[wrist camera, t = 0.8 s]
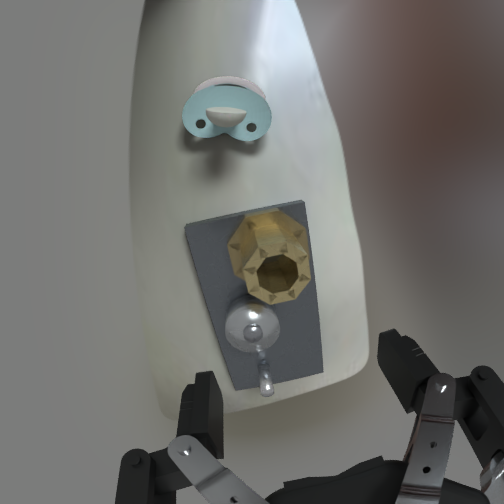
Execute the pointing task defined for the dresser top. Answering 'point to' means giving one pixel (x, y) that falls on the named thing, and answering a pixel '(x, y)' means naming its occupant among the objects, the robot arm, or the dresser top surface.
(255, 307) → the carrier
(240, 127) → the pacifier
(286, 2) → the dresser top surface
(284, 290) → the brass octagonal tube
